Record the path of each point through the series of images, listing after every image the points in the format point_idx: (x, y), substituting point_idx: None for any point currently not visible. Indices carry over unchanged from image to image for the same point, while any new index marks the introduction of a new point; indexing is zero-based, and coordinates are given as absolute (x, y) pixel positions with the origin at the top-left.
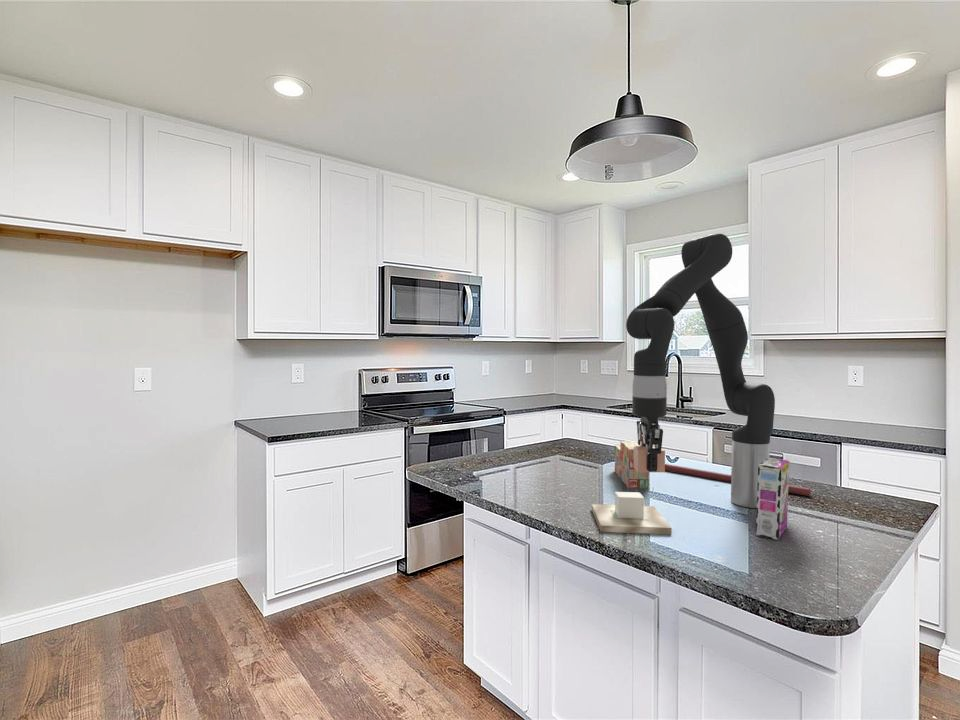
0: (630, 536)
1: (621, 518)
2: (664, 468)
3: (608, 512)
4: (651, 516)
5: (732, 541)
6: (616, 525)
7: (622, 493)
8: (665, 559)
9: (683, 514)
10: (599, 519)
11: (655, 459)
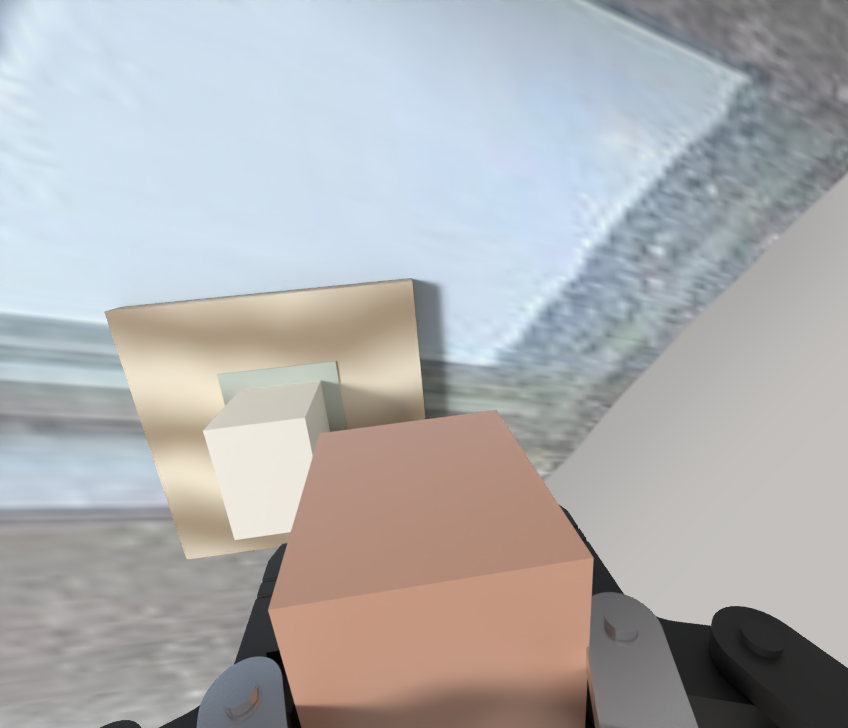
0: None
1: None
2: (506, 428)
3: None
4: (278, 344)
5: (446, 17)
6: None
7: (254, 510)
8: (640, 337)
9: (103, 164)
10: None
11: (607, 576)
